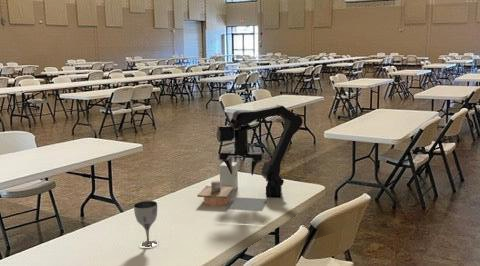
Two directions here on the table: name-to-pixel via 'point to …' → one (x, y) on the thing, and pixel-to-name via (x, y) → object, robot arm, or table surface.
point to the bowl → (216, 201)
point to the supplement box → (228, 176)
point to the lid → (215, 191)
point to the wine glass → (146, 217)
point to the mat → (248, 204)
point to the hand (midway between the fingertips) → (242, 174)
